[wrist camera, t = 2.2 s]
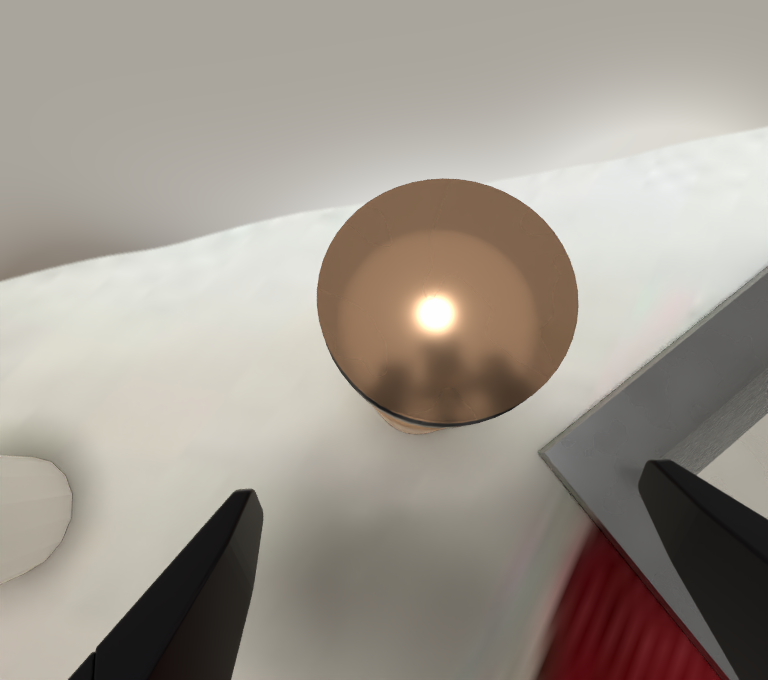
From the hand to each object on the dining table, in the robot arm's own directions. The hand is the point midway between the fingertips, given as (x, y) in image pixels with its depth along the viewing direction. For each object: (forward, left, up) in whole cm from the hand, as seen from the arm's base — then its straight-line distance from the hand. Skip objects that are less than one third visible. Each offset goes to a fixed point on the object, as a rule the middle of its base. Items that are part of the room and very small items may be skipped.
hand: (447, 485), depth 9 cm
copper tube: (+3, -2, -11) cm, 11 cm away
